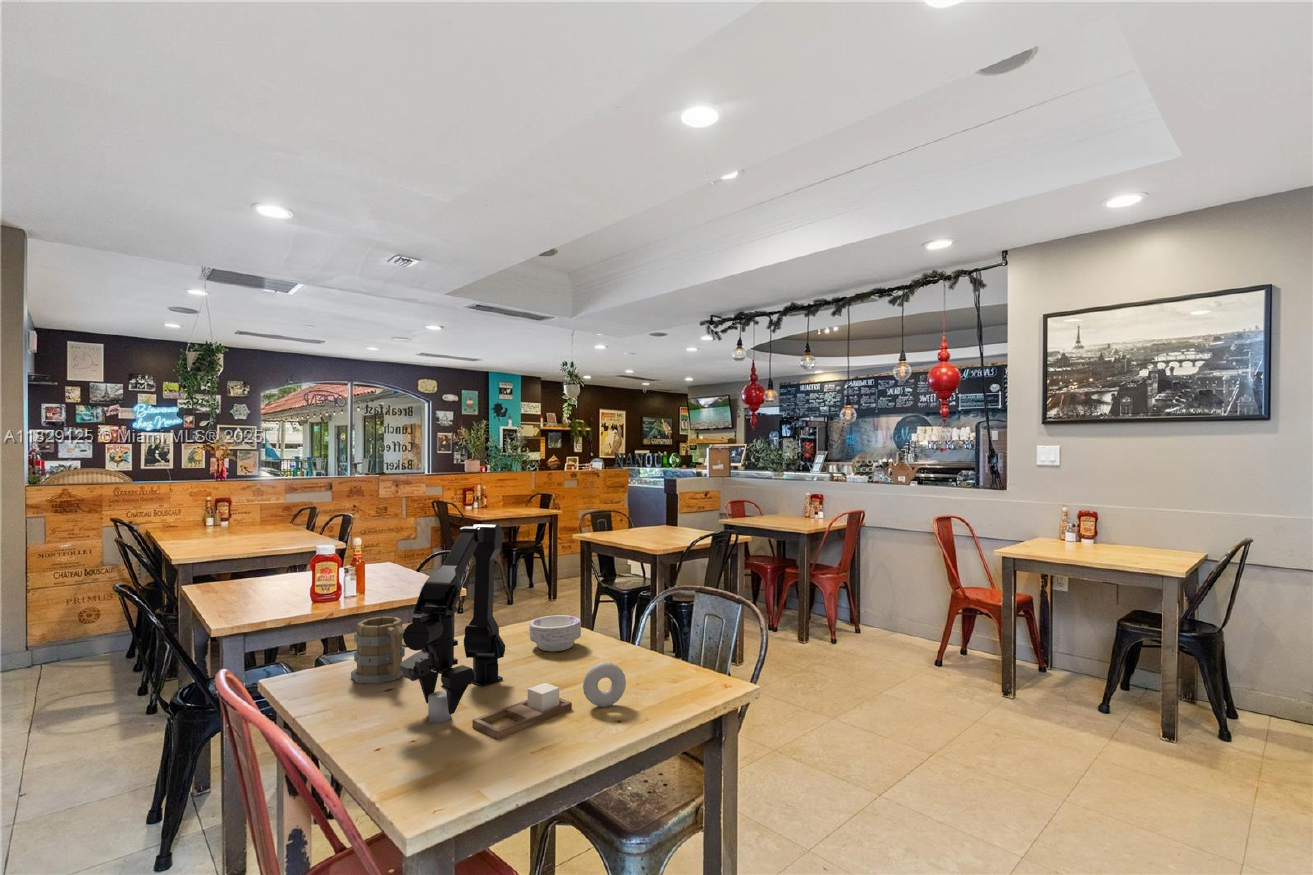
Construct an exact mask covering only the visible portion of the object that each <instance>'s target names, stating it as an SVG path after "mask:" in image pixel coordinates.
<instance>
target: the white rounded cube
mask: <svg viewBox="0 0 1313 875" xmlns="http://www.w3.org/2000/svg"><path fill="white" fill-rule="evenodd" d="M559 698H560V687H558V686H555V685H552V684H551V683H546V682H543V683H540V684H538V685H535V686H532V687H528V688H527V700H528V707H530V708H532V709H535V710H537V711H540V712H543V711H545V710H548V709H551V708H553V707H556V706H558V705H559Z"/></svg>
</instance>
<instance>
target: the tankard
mask: <svg viewBox="0 0 1313 875" xmlns="http://www.w3.org/2000/svg"><path fill="white" fill-rule="evenodd" d="M405 629H406V628H404V627H403V619H402V618H399V617H397V616H378V617H377V616H376V617H372V618H366V619H363V620H361V621H359V622H358V623H357V624H356V632H354V637H353V639H354V641H353V642H354V643H355V644H356V651H354V652H353V654H354V655H353V656H354V657H353V661H354V662H355V663H356V668H355V669H353V670H352V671H350V678H351V679H352V680H354V681H355V682H356V683H357V684H374V685H377V684H382V683H387V682H390V681H395V680H398V679H400V678H401V677H403V676H404V675H403V673H402V670H401V667H400V663H401V662H403V658H404V657H405V655H406V652H405V651H406V650H405V647H404V646H403V633H404V631H405Z"/></svg>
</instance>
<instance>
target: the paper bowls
mask: <svg viewBox="0 0 1313 875" xmlns="http://www.w3.org/2000/svg"><path fill="white" fill-rule="evenodd" d="M528 631H529V640H530V641H531V642H532V643H535V644H536V646H537V648H538V649H539V650H542V651H545V652H562V651H567V650H569V649H571V648H572V647H573V646H574V643H575V641H576V640H577V639H580V638H581V637H582V636H581V635H582V620H581V618H579V617H577V616H575V615H574V616H573V615H567V614H563V615H562V614H560V615H559V614H558V615H547V616H541V617H538V618H535V619H533V620H531V621H530V622H529V630H528Z"/></svg>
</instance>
